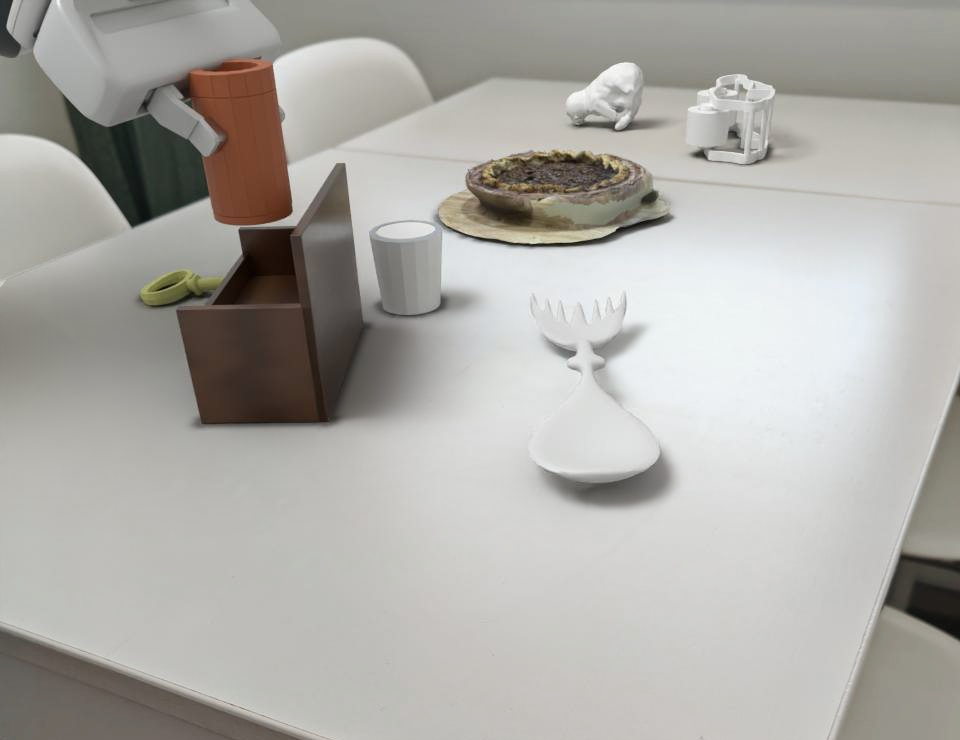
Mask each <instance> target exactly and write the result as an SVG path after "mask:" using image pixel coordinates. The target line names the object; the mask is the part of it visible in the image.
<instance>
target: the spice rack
mask: <svg viewBox="0 0 960 740" xmlns="http://www.w3.org/2000/svg"><path fill="white" fill-rule="evenodd" d="M237 231H238V237H239V238H238V239H239V242H240V249H241V254H240V255H239V257H238V258H237V260H236V261H235V262H234V264H233V265H232V266H231V268H230V269H229V271H228V272H227V273H226V275H225V276H224V277H225V278H224V279H223V280H222V282H221V283H220V285H219V286H218V287H217V289H216V290H213V293H212V294H211V295H210V297H209V299H207V301H206V302H205V304H202V305H178V306H177V307H176V309H175V314H176V317H177V322H178V327H179V331H180V334H181V339H182V344H183V348H184V353H185V357H186V361H187V366H188V370H189V375H190V380H191V384H192V387H193V392H194V397H195V401H196V406H197V410H198V415H199V418H200V422H201V424H228V423H229V424H233V423H234V424H235V423H236V424H237V423H238V424H239V423H240V424H242V423H243V424H244V423H245V424H246V423H247V424H248V423H313V422H314V423H321V422H323V423H324V422H325V423H327V422H328V421H329V419H330V416H331V413H332V411H333V408H334V405H335V402H336V399H337V396H338V394H339V392H340V389H341V386H342V383H343V381H344V378H345V375H346V372H347V370H348V367H349V364H350V361H351V358H352V356H353V353H354V351H355V349H356V345H357V342H358V340H359V337H360V335H361V332H362V329H363V326H364V317H363V310H362V301H361V291H360V290H361V289H360V281H359V275H358V273H359V271H358V264H357V255H356V245H355V237H354V229H353V220H352V211H351V201H350V193H349V184H348V176H347V165H346V163H345V162H337V163H335V165H334V166H333V168H332V169H331V171H330V173H329V174H328V176H327V177H326V179H325V181H324V182H323V184H322V185H321V187H320V188H319V190H318V191H317V193H316V194H315V196H314V197H313V199H312V200H311V203H310V204H309V205H308V207H307V209H306V210H305V211H304V213H303V215H302V217H301V218H300V220H299V221H298V223H297V224H296V225H275V226H271V225H270V226H269V225H268V226H240V227H239V228H238V229H237Z"/></svg>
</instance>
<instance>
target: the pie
mask: <svg viewBox="0 0 960 740" xmlns="http://www.w3.org/2000/svg"><path fill="white" fill-rule="evenodd" d="M464 177H465V178H464V179H465V180H464V184H465V187H466V189H464V190H462V191H459V192H457V193H454V194H452V195H450V196H449V197H447V198H446V199H445V200H444V201H443V202H441V204H440V206H438V218H439V219H440V221H441V222H442V223H443V224H444V225H445V226H446V227H448V228H449V227H450V228H451V229H453V230H455V231H458V232H461V233H463V234H466V235H469V236H473V237H477V238H483V239H489V240H490V239H493V240H499V241H502V242H507V243H513V244H517V243H518V244H529V245H535V244H555V243H557V244H558V243H559V244H560V243H565V244H566V243H567V244H568V243H576V242H577V243H578V242H583V241H589V240H594V239H596V240H597V239H601V238H603V237H606V236H608V235H611V234H612V233H614V232H616V230H617V229H619V228H627V227H630V226H633V225H636V224H638V223H640V222H641V223H642V222H646V221H652V220H655V219H658V218H661V217H664V216H665V215H667V214H668V213H669V212H670V211H671V207H670V206H669V205H668V204H665V201H664V200H661V199H660V192H659V190H655V189H654V175H653V174H652V172H651V171H649V170H648V169H647V168H646V167H644V166H643V165H641V164H639V163H637V162H634V161H633V160H631V159H628V158H626V157H623V156H619V155H616V154H612V153H599V154H596V155H595V154H594V153H593V152H592V151H591V150H581V151H579V152H577V153H576V152H575V151H572V150H571V149H567V150H562V151H560V150H558V149H551V150H550V151H549V152H547V151H546V150H544V151H539V150H538V151H534V150H533V149H529V150H528V151H523V152H517V153H512V154H510V155H507V156H504V157H502V158H499V159H496V160H495V159H493V158H491V159H488V160H487V161H486V162H481V163H478V164H476V165H474V166H471V168H467V172H466V173H465V176H464Z"/></svg>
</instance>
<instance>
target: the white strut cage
mask: <svg viewBox="0 0 960 740" xmlns="http://www.w3.org/2000/svg"><path fill="white" fill-rule="evenodd" d="M730 85H734V87H733V89H728V88H727V87H725V86H730ZM741 85H742V88H743V89H744V90H747V92H746V95H745V100H740V92H741V91H740V90H741ZM775 97H776V88H774V86H773V85H770V84H765V83H763V82H760V81H759V80H758V81H757V80H754V79H753V80H752V79H749V78H748V76H747V75H746V74H743V73H736V74H727V75H723V76H720V77H718V78H717V79H716V80H715V86H712V87H709V89H702V90H699V91H698V92H697V94H696V104H695V105H692V106H689V107H688V108H687V115H686V125H685V135H684V136H685V137H684V143H685V144H686V145H688V146H692V147H697V148H699V149H703V154H704V155H705V157H706V159H707V160H708V161H713V162H726V163H735V164H738V165H750V164H754V163H755V162H757V161H761V160H764V158H765V157H766V155H767V152H768V147H769V143H770V136H771V135H770V134H771V129H772V127H771V126H772V119H773V112H774V111H773V110H774V103H775ZM755 100H757V101H755ZM738 112H743V119H742V120H743V121H742V124H741V123H740V122H737V120H738V119H737V118H738ZM758 112H762V114H761V121H760V130H759V133H758V132H756V131H754V125H755V117H756V113H758ZM729 132H734V133H736V136H737V137H738V138H740V149H743V153H740V152H734V151H726V150H725V151H724V150H713V149H712V148H715V147H719V146H724V145H726V144H727V143H728V137H729ZM751 150H754V151H752V152H751Z"/></svg>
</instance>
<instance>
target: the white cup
mask: <svg viewBox="0 0 960 740" xmlns="http://www.w3.org/2000/svg"><path fill="white" fill-rule="evenodd" d="M368 234H369V240H370V246H371V251H372V258H373V262H374V267H375V272H376V279H377V283H378V288H379V289H378V290H379V293H380V297H381V298H380V300H381V305H382V309H383V310H384V311H386V312H387V313H390V314H392V315H393V314H394V315H397V316H416V315H417V316H419V315H423V314H427V313H430V312H432V311H435V310H436V309H438V308H439V307H440V306H441V297H442V295H441V293H442V263H443V262H442V258H443V226H441V225H440V224H438V223H436V222H432V221H427V220H420V219H419V220H417V219H409V220H408V219H406V220H394V221H390V222H389V221H388V222H384V223H381V224H379V225H376V226H373V228H371V229H370V230H369V231H368Z"/></svg>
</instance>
